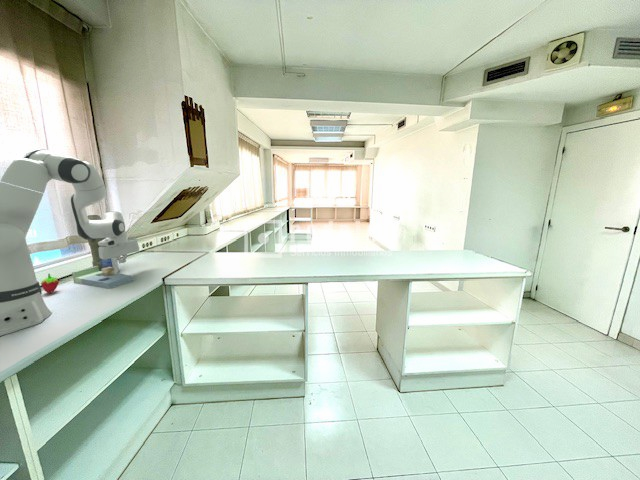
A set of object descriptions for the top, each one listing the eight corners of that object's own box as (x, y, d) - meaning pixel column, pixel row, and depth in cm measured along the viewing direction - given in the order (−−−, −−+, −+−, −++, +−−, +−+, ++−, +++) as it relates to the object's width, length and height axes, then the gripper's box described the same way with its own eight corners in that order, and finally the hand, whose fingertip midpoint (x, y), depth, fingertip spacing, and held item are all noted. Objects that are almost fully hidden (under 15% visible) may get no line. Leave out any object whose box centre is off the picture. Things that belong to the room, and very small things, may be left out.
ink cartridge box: (108, 271, 157) (104, 249, 154) (119, 270, 160) (115, 248, 157) (103, 276, 148) (98, 252, 145) (114, 275, 151) (110, 251, 148)
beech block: (107, 276, 140) (106, 269, 139) (102, 275, 141) (101, 268, 140) (115, 274, 144) (114, 267, 143) (110, 273, 145) (109, 266, 144)
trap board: (109, 288, 130) (107, 277, 129) (74, 282, 139) (71, 272, 138) (132, 280, 141) (130, 270, 140) (98, 275, 150) (96, 265, 149)
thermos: (116, 267, 166) (106, 214, 159) (108, 272, 155) (97, 216, 148) (99, 268, 163) (88, 214, 156) (90, 274, 152) (78, 216, 145)
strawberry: (63, 288, 131) (59, 270, 129) (56, 294, 124) (51, 274, 122) (48, 290, 128) (44, 272, 126) (40, 296, 122) (35, 276, 120)
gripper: (132, 235, 156) (136, 257, 159) (94, 243, 137) (99, 267, 140) (139, 236, 154) (143, 258, 157) (102, 244, 135) (107, 268, 138)
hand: (122, 262), depth 148 cm, fingers closed
